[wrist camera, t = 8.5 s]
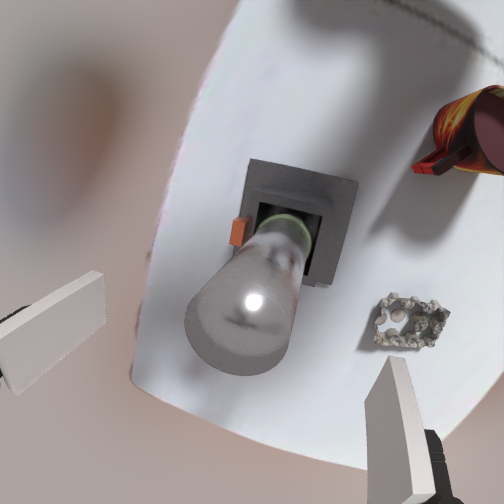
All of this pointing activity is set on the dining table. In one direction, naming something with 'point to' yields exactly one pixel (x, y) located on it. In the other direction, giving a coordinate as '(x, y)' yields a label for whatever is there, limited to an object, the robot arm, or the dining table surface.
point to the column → (252, 300)
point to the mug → (469, 135)
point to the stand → (298, 211)
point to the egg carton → (417, 321)
